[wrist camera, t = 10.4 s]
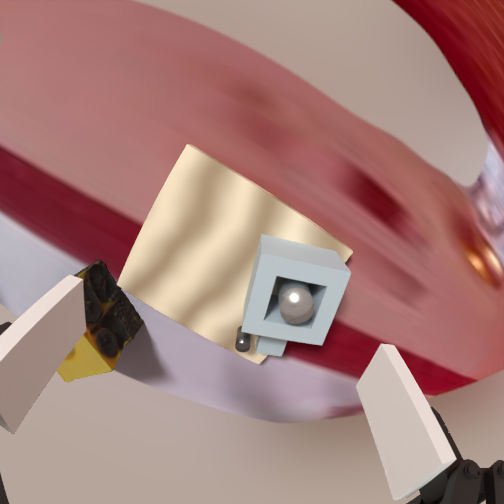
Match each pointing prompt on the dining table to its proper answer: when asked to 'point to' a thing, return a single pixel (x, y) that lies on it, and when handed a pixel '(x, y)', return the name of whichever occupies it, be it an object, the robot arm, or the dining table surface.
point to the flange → (298, 268)
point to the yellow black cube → (101, 326)
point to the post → (294, 300)
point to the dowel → (242, 340)
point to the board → (211, 247)
